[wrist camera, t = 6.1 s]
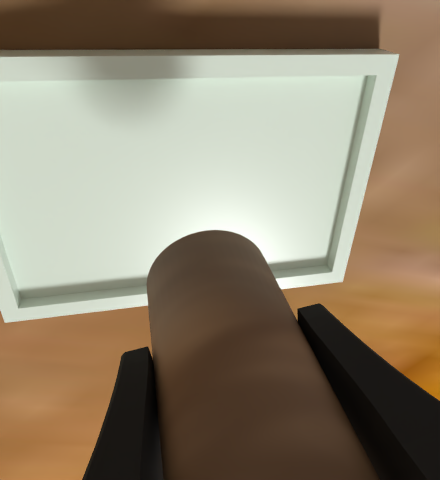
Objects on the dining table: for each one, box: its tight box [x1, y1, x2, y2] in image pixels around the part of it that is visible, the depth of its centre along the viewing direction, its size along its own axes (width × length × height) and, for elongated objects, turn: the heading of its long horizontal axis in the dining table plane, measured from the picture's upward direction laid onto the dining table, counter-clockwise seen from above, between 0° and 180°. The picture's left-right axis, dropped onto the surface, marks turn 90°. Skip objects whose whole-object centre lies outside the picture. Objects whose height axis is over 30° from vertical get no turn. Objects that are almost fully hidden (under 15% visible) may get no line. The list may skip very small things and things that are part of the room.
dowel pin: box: [147, 230, 380, 480], centre depth 10 cm, size 4×4×8 cm
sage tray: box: [0, 49, 399, 323], centre depth 19 cm, size 18×12×2 cm, turn 89°
